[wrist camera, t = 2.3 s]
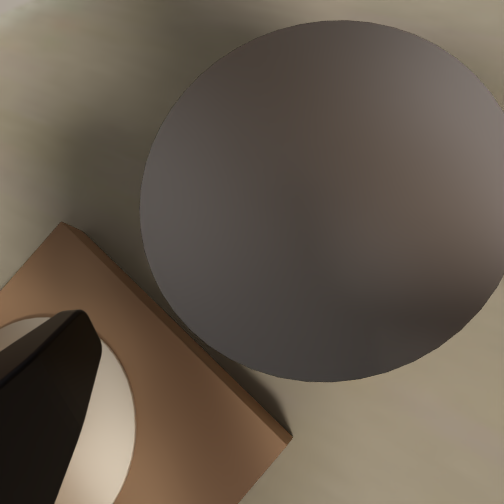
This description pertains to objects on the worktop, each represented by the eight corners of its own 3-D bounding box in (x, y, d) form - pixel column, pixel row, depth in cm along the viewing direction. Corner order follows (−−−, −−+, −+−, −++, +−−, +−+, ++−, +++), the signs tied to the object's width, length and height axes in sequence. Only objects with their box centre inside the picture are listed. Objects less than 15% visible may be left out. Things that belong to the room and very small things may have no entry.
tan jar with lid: (351, 396, 16) (341, 476, 5) (243, 300, 18) (74, 217, 7) (446, 283, 16) (618, 146, 6) (331, 197, 18) (294, -35, 7)
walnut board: (-11, 796, 16) (-54, 848, 14) (-168, 518, 19) (-216, 533, 18) (293, 437, 16) (286, 446, 14) (82, 231, 20) (58, 220, 18)
